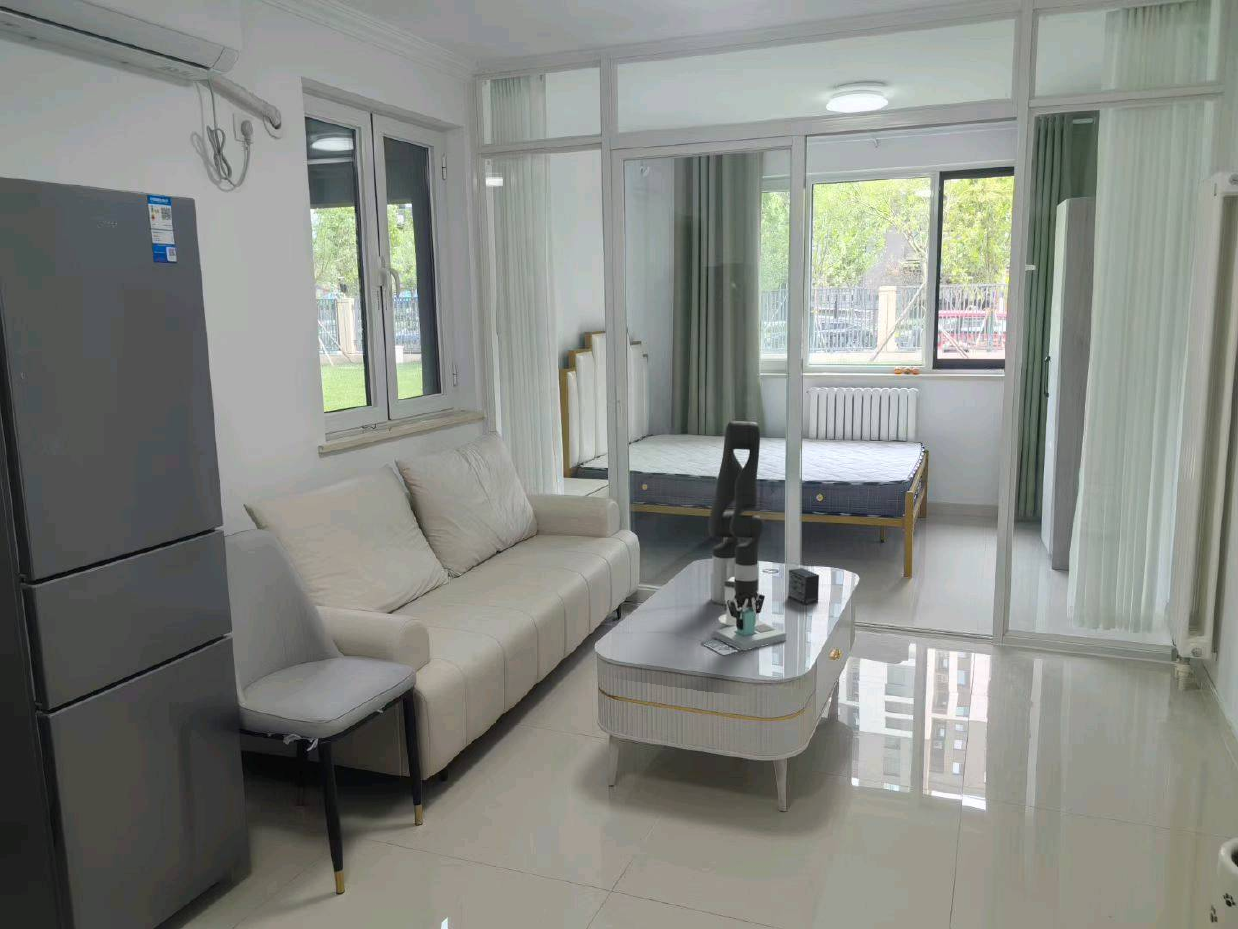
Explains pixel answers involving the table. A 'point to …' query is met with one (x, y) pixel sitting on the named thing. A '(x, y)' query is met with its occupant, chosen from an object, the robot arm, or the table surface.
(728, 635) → the plate
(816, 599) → the small box
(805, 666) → the table surface
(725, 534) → the robot arm
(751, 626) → the teal knobbed block
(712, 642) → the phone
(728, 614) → the white curved stand
